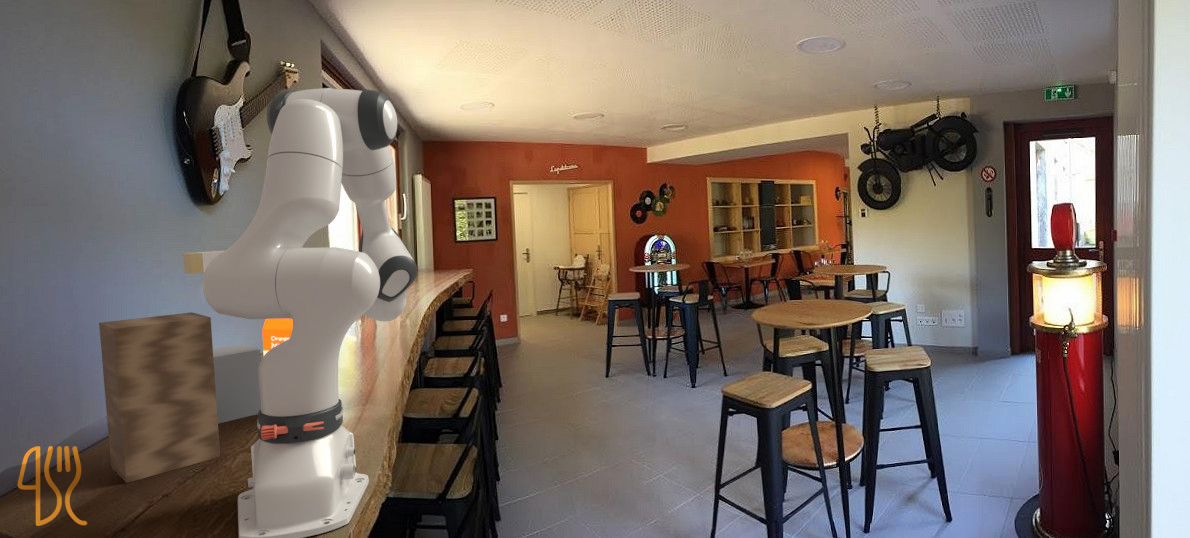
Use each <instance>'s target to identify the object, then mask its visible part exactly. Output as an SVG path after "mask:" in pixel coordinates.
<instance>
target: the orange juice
mask: <svg viewBox="0 0 1190 538" xmlns="http://www.w3.org/2000/svg"><path fill="white" fill-rule="evenodd" d="M292 329H293V320H292V319H264V324H263V326H262V330H261V331H262V347H263V348H262V349H263V351H262V352H263V356H264V355H265V354H266V353H267V352H268V351H269V350H270V349H272V348H273V347H275V346H277V345H278V344H280V343H282V342H284V341H286V340H288V339H289V338H290V336H291V333H292Z"/></svg>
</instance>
